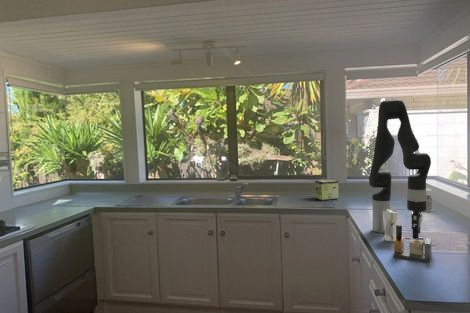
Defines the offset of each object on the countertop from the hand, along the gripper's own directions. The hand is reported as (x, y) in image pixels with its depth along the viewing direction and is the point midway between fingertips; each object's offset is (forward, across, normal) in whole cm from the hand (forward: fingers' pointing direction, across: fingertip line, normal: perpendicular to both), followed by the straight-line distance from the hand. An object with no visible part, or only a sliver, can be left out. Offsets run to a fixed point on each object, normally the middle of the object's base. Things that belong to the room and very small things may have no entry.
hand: (416, 235), depth 159 cm
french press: (+11, -100, -4) cm, 101 cm away
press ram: (+7, 0, -7) cm, 10 cm away
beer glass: (+10, -20, -13) cm, 26 cm away
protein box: (+12, -114, -75) cm, 137 cm away
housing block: (+8, 0, 0) cm, 8 cm away
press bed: (+9, 0, -1) cm, 9 cm away
